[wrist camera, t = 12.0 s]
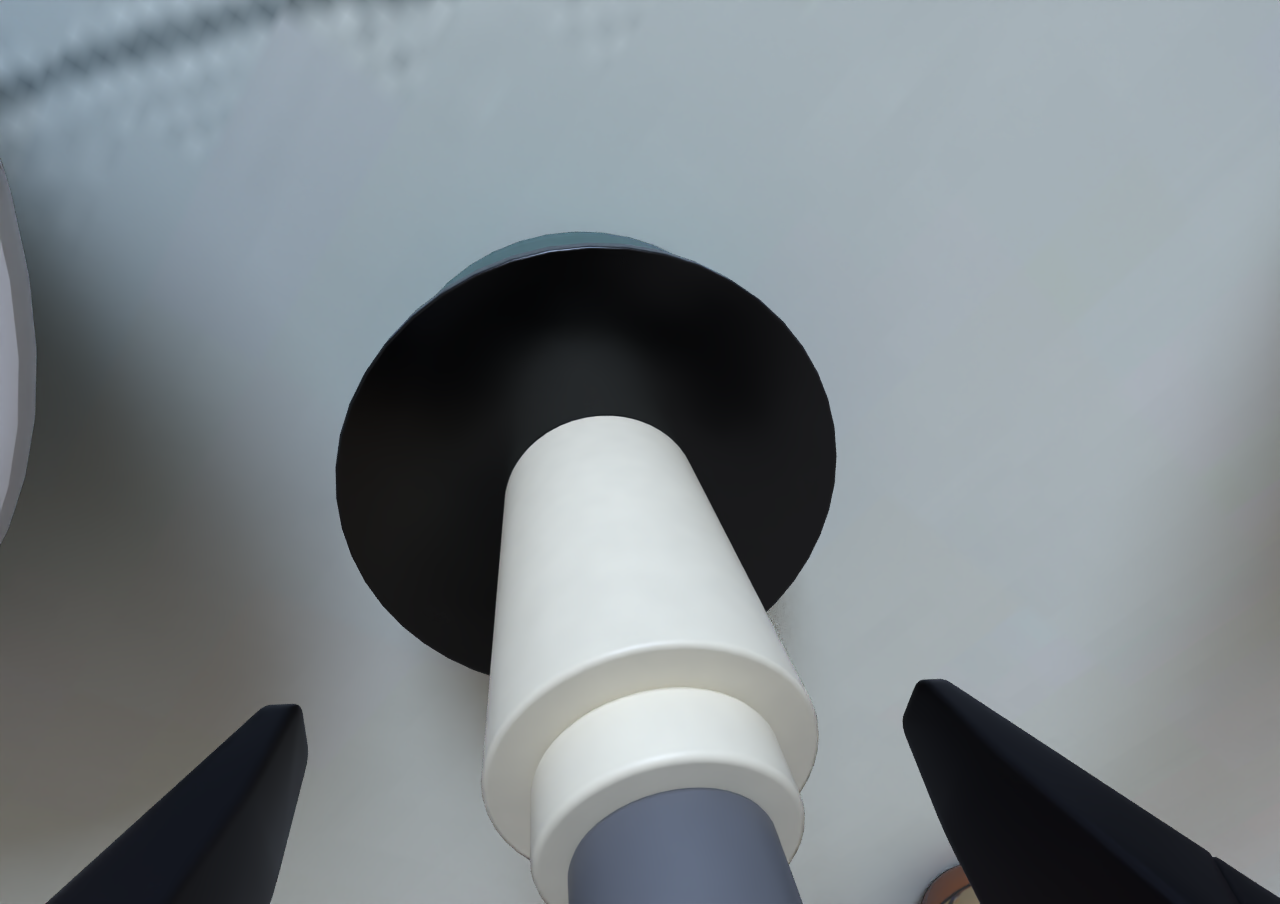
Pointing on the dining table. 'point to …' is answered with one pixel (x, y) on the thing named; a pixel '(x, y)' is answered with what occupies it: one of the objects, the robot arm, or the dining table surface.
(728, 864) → the bottle
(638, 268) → the enamel tin
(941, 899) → the ceramic vessel
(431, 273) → the dining table surface
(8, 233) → the soup bowl
